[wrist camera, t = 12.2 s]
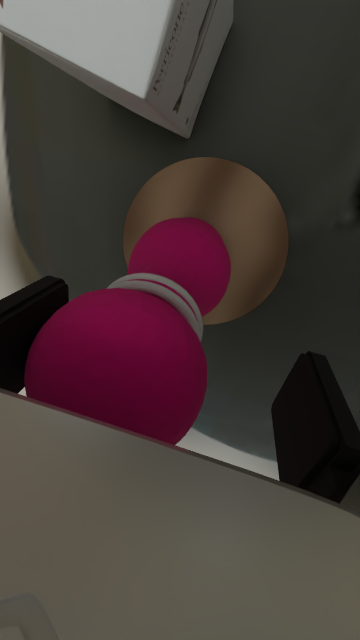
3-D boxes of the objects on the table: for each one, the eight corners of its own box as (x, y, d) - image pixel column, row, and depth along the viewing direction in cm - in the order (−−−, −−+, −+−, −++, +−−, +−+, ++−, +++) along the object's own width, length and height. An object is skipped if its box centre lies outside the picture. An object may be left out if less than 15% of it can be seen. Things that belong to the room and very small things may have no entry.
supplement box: (190, 142, 21) (142, 110, 10) (105, 97, 21) (-37, 14, 10) (237, 19, 18) (241, -232, 7) (136, -39, 17) (-37, -407, 6)
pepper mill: (132, 250, 24) (-142, 453, 6) (192, 189, 21) (-33, 270, 3) (186, 308, 26) (83, 588, 8) (249, 260, 22) (297, 554, 5)
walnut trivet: (312, 181, 21) (321, 182, 19) (251, 328, 28) (253, 341, 26) (143, 140, 22) (133, 136, 20) (125, 293, 29) (116, 302, 27)
